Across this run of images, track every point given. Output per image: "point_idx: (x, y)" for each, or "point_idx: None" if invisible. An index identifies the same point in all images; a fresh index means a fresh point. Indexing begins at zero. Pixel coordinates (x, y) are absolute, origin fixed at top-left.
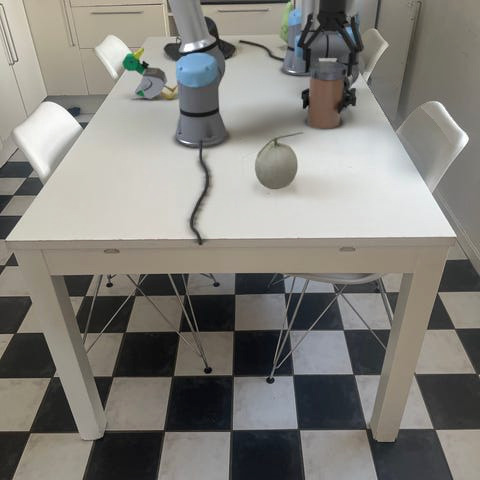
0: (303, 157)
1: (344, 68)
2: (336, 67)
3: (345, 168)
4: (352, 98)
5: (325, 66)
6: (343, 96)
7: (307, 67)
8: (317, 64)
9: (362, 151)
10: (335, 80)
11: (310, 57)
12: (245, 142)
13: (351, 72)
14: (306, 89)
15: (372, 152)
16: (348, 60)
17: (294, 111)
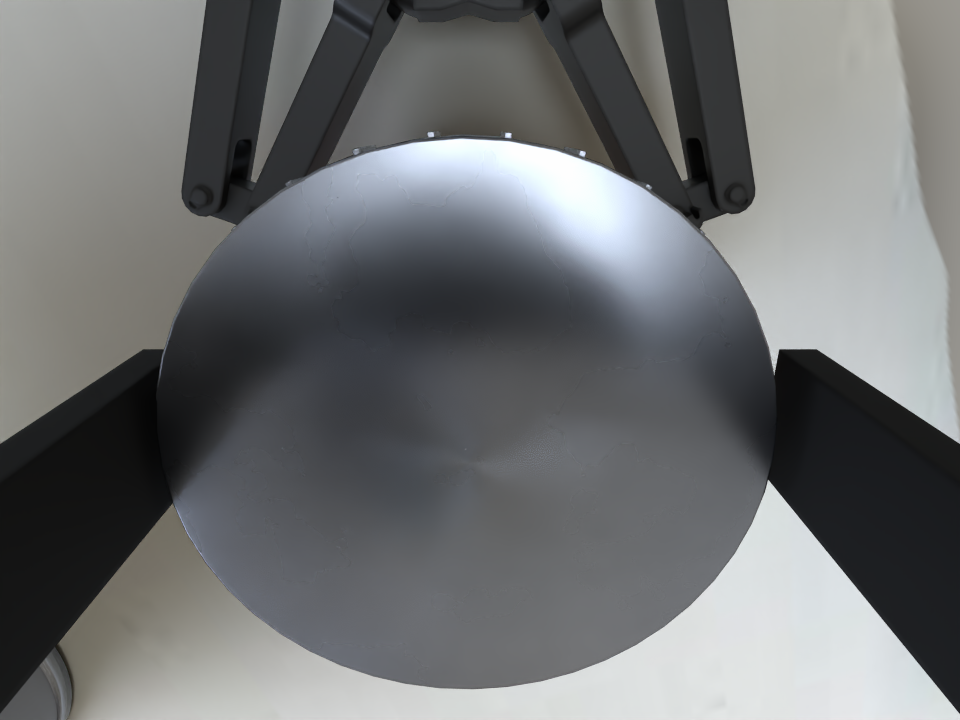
0: (499, 690)
1: (751, 471)
2: (617, 466)
3: (700, 716)
4: (715, 202)
5: (432, 474)
6: (616, 149)
7: (164, 512)
8: (266, 416)
9: (764, 559)
10: None
11: (58, 461)
12: (173, 648)
13: (829, 365)
14: (199, 114)
15: (815, 553)
16: (901, 637)
17: (190, 122)
